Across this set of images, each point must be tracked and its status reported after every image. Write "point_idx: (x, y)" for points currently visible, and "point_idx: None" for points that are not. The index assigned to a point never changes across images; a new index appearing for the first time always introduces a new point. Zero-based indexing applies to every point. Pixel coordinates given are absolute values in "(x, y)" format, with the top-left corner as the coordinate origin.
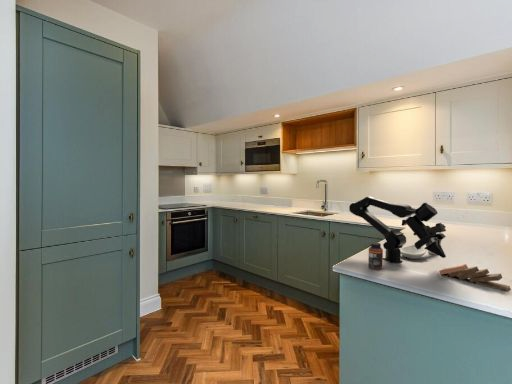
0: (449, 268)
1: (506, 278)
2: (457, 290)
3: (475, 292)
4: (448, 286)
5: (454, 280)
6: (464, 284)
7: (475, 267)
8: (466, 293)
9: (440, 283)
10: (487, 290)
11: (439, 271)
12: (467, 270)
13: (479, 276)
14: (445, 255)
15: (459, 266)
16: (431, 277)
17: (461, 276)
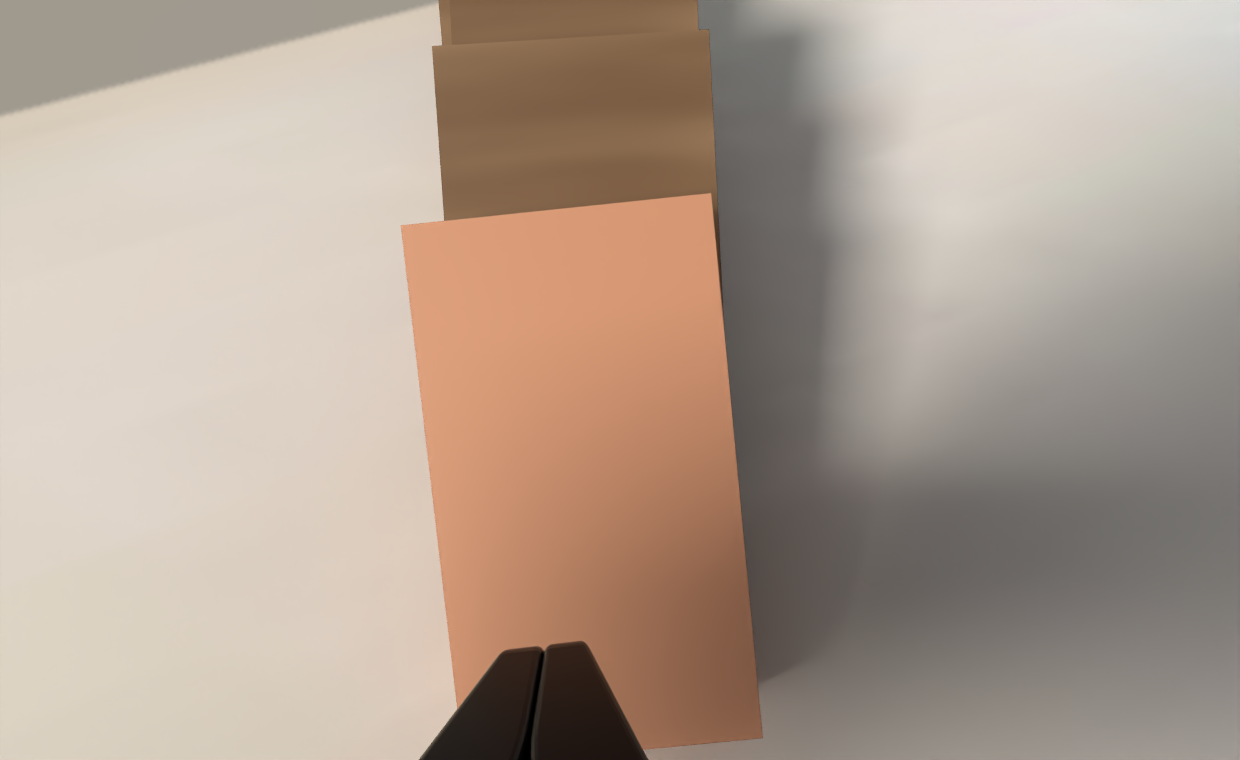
0: (678, 511)
1: (31, 115)
2: (1213, 176)
3: (1021, 65)
4: (1211, 300)
5: (822, 390)
6: (856, 239)
7: (528, 43)
8: (1182, 90)
9: (1235, 426)
10: (793, 41)
11: (757, 725)
12: (711, 135)
13: None
14: (501, 669)
15: (681, 257)
16: (1124, 701)
17: None
